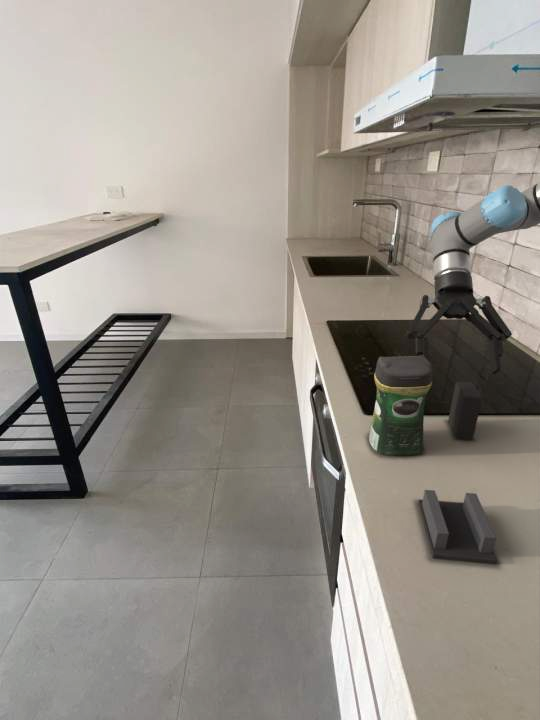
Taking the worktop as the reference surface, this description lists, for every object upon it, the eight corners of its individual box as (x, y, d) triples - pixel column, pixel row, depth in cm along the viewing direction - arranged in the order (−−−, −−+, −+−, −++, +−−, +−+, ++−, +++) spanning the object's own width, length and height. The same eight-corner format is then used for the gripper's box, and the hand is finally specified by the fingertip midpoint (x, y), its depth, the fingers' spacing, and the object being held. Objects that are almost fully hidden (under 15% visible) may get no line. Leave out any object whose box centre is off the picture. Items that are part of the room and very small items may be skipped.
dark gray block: (462, 424, 82) (472, 381, 77) (472, 442, 76) (482, 397, 72) (447, 423, 82) (455, 381, 78) (455, 441, 77) (465, 396, 72)
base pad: (470, 509, 61) (476, 488, 60) (494, 566, 52) (502, 544, 51) (417, 504, 62) (421, 484, 61) (432, 560, 54) (436, 538, 52)
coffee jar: (412, 432, 80) (425, 348, 72) (426, 458, 72) (442, 367, 64) (364, 433, 80) (372, 349, 72) (373, 459, 73) (383, 369, 65)
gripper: (505, 287, 88) (517, 378, 81) (391, 286, 92) (393, 373, 85) (521, 269, 81) (536, 366, 74) (397, 269, 85) (399, 362, 78)
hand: (460, 370), depth 80 cm, fingers open, 13 cm apart
